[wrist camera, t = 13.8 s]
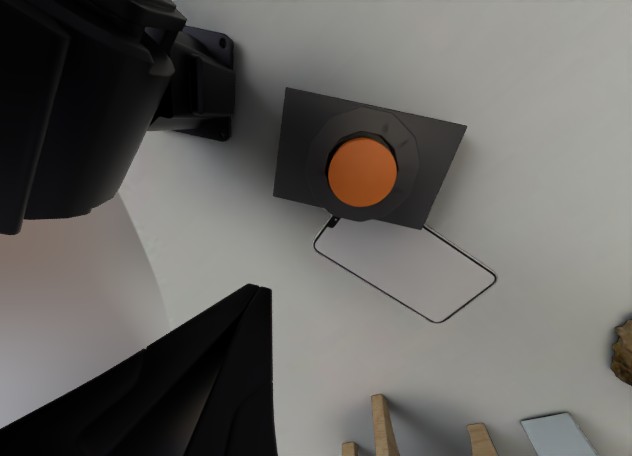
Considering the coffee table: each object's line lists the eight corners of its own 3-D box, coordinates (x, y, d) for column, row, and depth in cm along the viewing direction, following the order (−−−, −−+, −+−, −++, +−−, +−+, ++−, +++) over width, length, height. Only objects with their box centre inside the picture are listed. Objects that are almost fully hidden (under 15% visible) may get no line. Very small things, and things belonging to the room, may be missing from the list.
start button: (325, 191, 15) (322, 199, 13) (338, 131, 13) (336, 132, 12) (380, 203, 15) (384, 213, 13) (400, 144, 13) (407, 147, 12)
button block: (280, 188, 19) (264, 204, 15) (293, 91, 16) (277, 82, 12) (413, 219, 19) (429, 242, 15) (452, 125, 16) (484, 126, 12)
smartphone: (437, 327, 23) (307, 247, 21) (435, 321, 23) (308, 244, 21) (503, 278, 20) (358, 179, 18) (499, 273, 20) (357, 177, 18)
